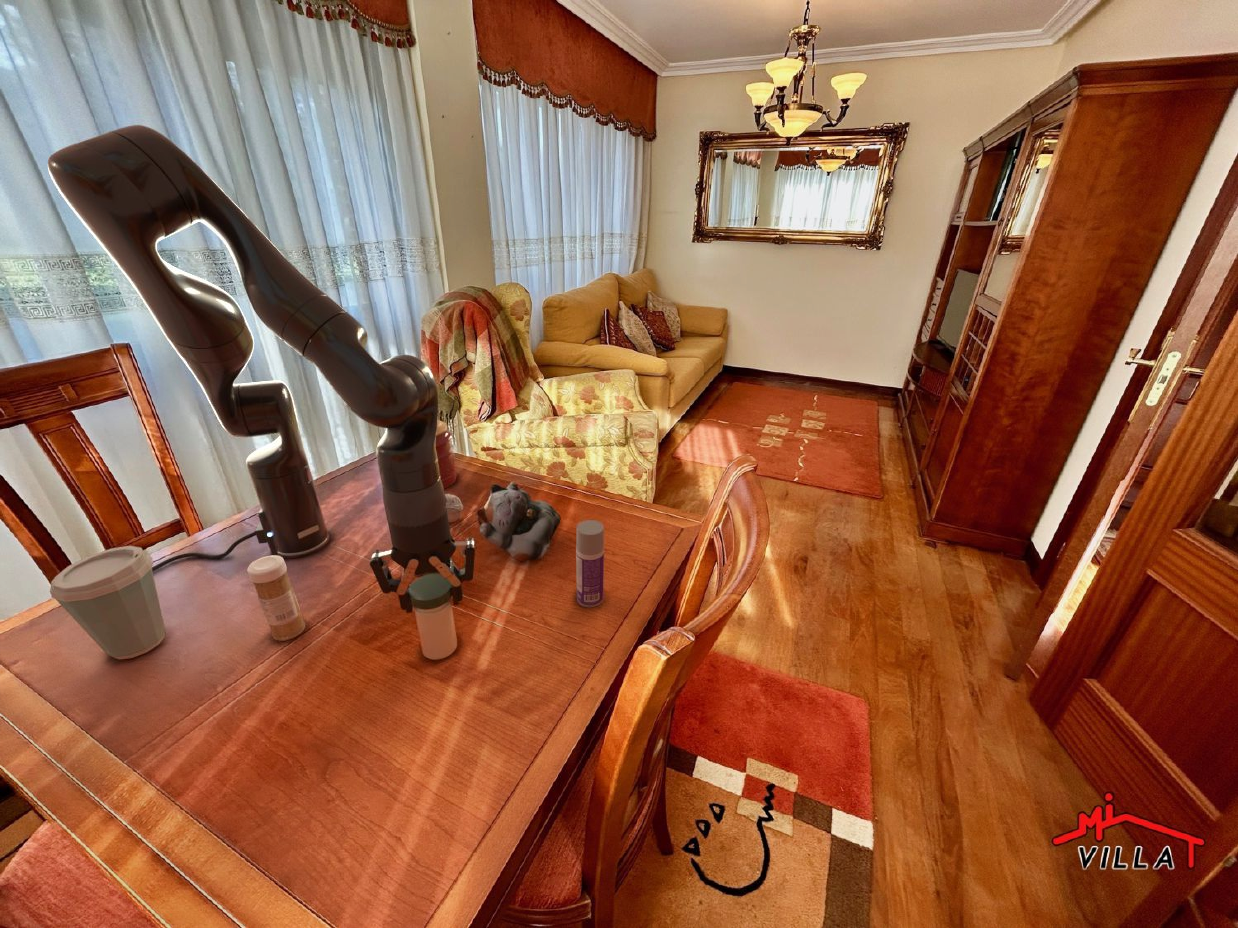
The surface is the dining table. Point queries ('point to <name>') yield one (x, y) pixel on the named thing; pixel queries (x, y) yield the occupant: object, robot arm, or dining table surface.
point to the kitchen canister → (445, 455)
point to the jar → (437, 631)
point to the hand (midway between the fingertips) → (433, 605)
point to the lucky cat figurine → (517, 522)
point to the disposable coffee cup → (114, 600)
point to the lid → (430, 591)
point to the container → (590, 563)
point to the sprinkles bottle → (276, 597)
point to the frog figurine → (453, 507)
